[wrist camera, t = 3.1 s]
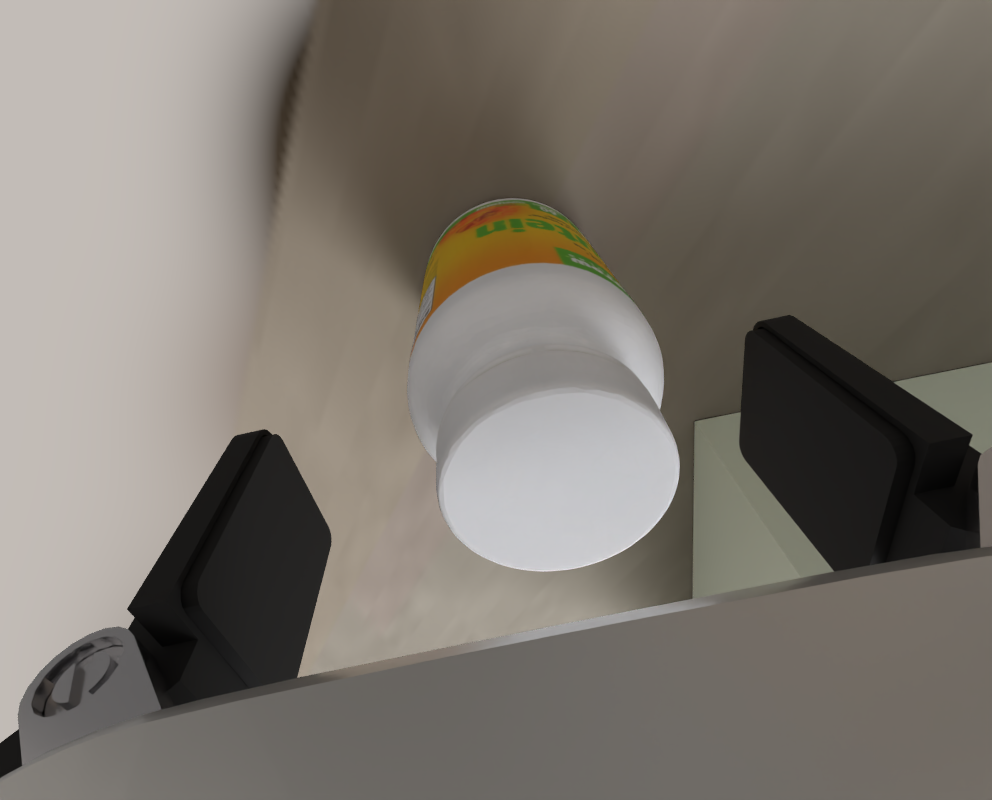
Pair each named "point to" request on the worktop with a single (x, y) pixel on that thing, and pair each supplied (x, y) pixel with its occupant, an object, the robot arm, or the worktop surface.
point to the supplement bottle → (538, 393)
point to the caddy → (760, 517)
